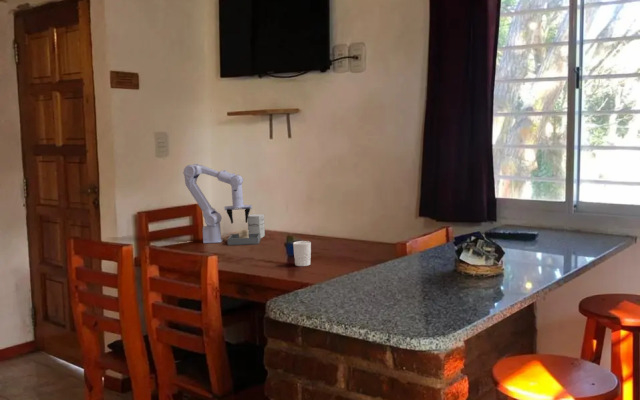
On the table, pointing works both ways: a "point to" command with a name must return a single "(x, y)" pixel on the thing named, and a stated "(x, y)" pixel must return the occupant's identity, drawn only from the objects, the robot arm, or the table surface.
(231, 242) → the serving tray
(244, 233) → the birch block
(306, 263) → the white cup
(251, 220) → the supplement box
